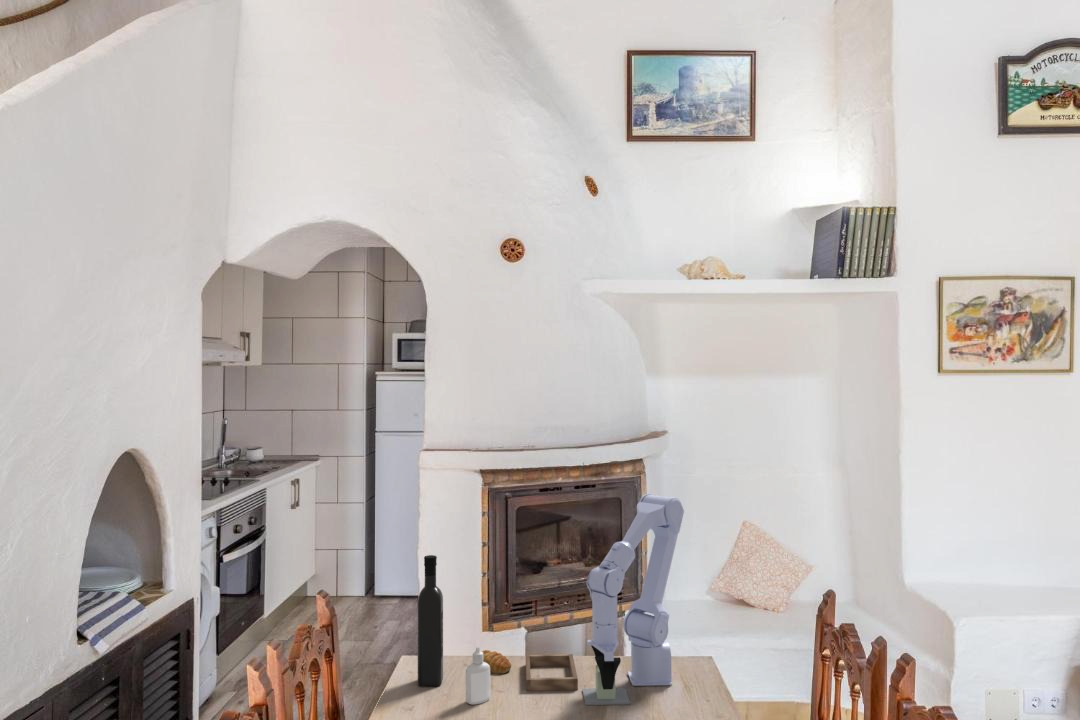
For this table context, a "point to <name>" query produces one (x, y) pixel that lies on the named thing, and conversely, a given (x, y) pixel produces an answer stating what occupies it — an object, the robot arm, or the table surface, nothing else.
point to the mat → (592, 699)
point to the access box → (551, 683)
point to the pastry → (496, 662)
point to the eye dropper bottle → (477, 680)
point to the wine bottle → (430, 628)
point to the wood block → (599, 688)
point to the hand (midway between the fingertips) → (605, 682)
